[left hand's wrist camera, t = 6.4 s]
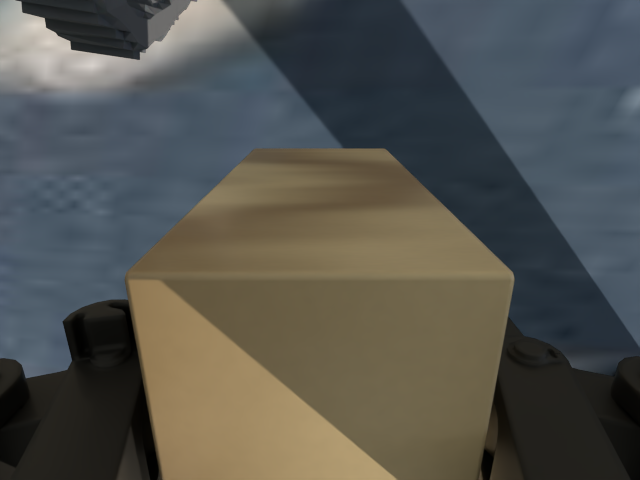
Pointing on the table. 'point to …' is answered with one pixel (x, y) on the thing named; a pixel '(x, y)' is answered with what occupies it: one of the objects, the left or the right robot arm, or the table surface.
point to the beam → (319, 326)
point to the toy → (108, 23)
